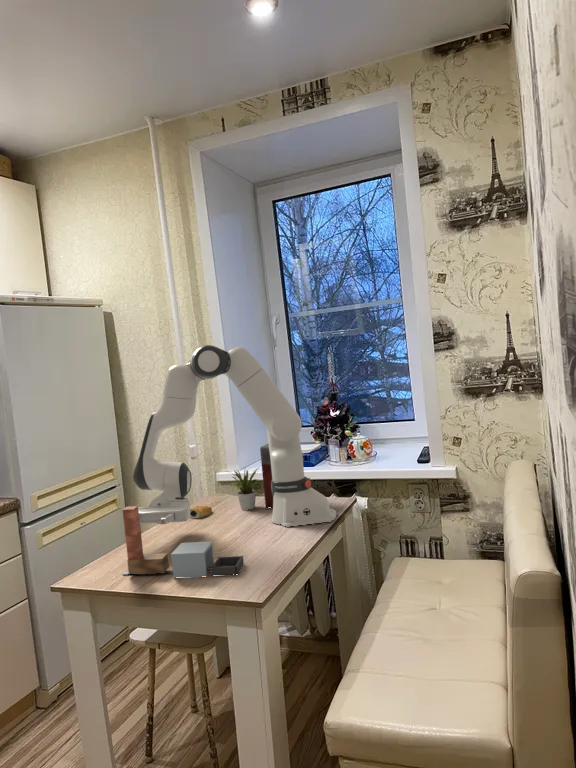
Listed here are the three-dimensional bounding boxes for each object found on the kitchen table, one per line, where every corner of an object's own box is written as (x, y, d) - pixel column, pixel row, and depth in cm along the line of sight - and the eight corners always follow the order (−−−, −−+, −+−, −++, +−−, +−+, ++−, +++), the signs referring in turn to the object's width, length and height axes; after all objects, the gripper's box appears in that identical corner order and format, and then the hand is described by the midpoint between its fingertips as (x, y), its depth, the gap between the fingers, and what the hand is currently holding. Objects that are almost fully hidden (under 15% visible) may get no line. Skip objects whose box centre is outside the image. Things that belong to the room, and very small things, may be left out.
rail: (214, 569, 165) (214, 568, 165) (213, 571, 164) (213, 570, 164) (124, 573, 169) (124, 572, 168) (122, 575, 167) (122, 574, 167)
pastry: (203, 511, 228) (202, 501, 228) (216, 512, 224) (216, 502, 224) (186, 518, 220) (185, 508, 220) (200, 520, 217) (199, 509, 216)
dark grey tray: (243, 564, 167) (243, 556, 167) (237, 575, 159) (236, 566, 159) (219, 565, 168) (218, 557, 168) (212, 576, 160) (211, 567, 160)
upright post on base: (169, 566, 168) (162, 503, 167) (163, 573, 164) (156, 508, 163) (134, 568, 170) (128, 505, 169) (128, 574, 165) (121, 510, 164)
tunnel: (214, 564, 169) (212, 541, 168) (206, 577, 160) (203, 552, 160) (183, 566, 170) (181, 542, 170) (173, 578, 161) (171, 554, 161)
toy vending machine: (299, 501, 229) (292, 428, 228) (287, 509, 219) (280, 433, 217) (278, 500, 233) (271, 429, 231) (265, 508, 223) (258, 434, 221)
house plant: (223, 515, 219) (218, 471, 218) (228, 505, 232) (224, 463, 231) (261, 512, 218) (257, 468, 217) (265, 502, 232) (261, 460, 231)
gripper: (131, 501, 192) (113, 514, 178) (193, 497, 189) (179, 510, 176) (133, 520, 192) (115, 534, 179) (195, 517, 190) (182, 531, 176)
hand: (148, 522), depth 177 cm, fingers open, 8 cm apart
